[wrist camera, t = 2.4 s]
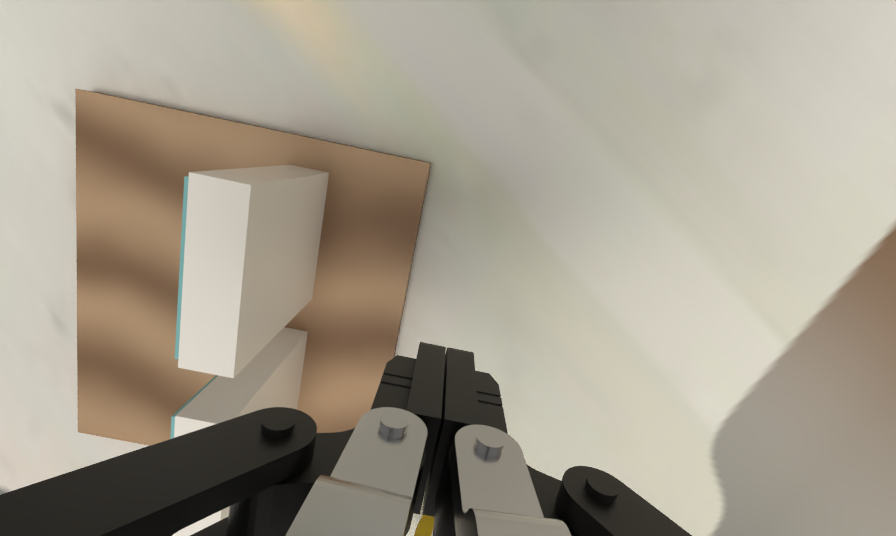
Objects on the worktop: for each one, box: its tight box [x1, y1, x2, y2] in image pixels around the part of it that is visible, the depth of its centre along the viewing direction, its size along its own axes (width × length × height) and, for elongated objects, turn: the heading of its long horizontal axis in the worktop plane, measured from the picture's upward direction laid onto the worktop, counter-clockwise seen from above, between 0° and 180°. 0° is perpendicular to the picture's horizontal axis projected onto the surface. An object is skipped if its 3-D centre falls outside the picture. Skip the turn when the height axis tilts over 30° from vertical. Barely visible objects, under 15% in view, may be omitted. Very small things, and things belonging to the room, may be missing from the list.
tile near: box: [175, 165, 329, 378], centre depth 20 cm, size 7×2×9 cm, turn 168°
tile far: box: [170, 327, 308, 536], centre depth 22 cm, size 7×2×9 cm, turn 168°
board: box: [76, 89, 431, 446], centre depth 26 cm, size 20×18×1 cm
